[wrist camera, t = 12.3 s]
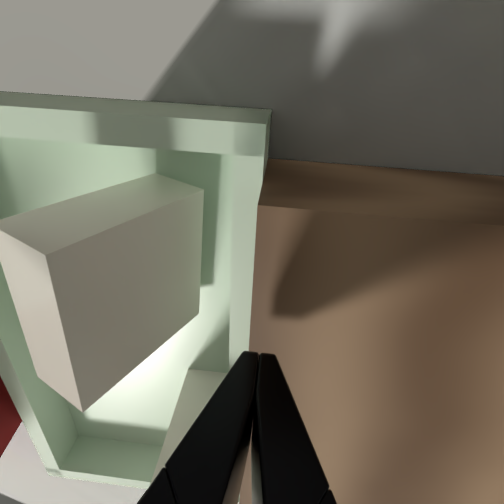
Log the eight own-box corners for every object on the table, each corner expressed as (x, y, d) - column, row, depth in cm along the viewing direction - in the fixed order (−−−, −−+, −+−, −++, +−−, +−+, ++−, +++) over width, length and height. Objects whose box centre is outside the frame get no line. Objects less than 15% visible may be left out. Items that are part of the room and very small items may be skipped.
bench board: (657, 188, 10) (837, 253, 7) (465, 467, 19) (504, 561, 15) (268, 158, 11) (257, 204, 8) (247, 439, 19) (237, 523, 16)
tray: (271, 109, 10) (266, 124, 8) (246, 454, 20) (241, 502, 18) (-54, 87, 11) (-137, 96, 9) (74, 431, 21) (49, 475, 19)
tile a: (207, 493, 11) (149, 485, 12) (209, 553, 14) (162, 546, 14) (230, 373, 16) (188, 368, 16) (228, 436, 18) (192, 431, 18)
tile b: (45, 255, 7) (-12, 222, 7) (82, 412, 9) (37, 376, 10) (204, 189, 10) (155, 173, 11) (199, 313, 13) (159, 293, 14)
